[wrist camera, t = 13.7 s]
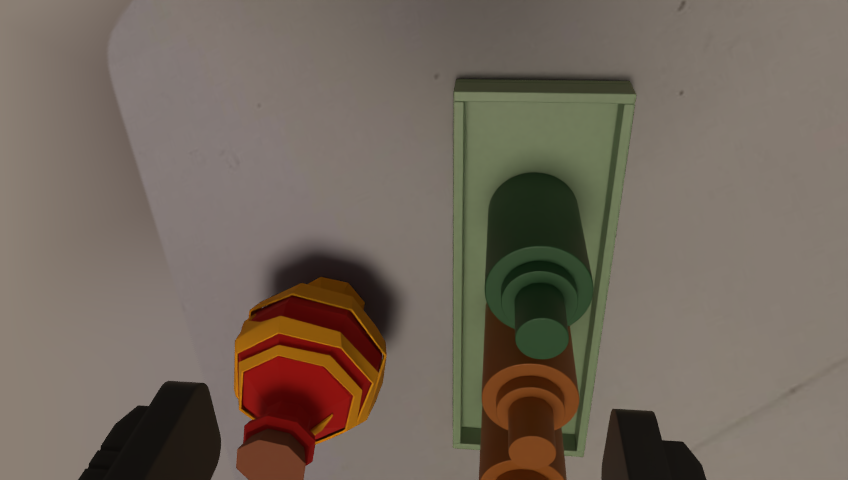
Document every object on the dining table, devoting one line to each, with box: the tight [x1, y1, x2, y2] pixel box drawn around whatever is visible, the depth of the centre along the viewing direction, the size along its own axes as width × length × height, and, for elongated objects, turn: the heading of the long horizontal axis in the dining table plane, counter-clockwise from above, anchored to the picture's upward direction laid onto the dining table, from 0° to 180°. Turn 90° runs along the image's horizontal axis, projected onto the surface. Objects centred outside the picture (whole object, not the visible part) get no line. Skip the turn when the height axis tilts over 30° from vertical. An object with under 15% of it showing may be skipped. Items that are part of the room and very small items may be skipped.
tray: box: [453, 79, 636, 457], centre depth 46 cm, size 29×10×2 cm, turn 1°
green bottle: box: [485, 172, 594, 359], centre depth 38 cm, size 6×6×13 cm
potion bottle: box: [234, 277, 386, 480], centre depth 44 cm, size 10×10×15 cm
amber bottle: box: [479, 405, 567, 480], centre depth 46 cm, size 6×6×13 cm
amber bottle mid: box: [482, 303, 579, 469], centre depth 42 cm, size 6×6×13 cm
